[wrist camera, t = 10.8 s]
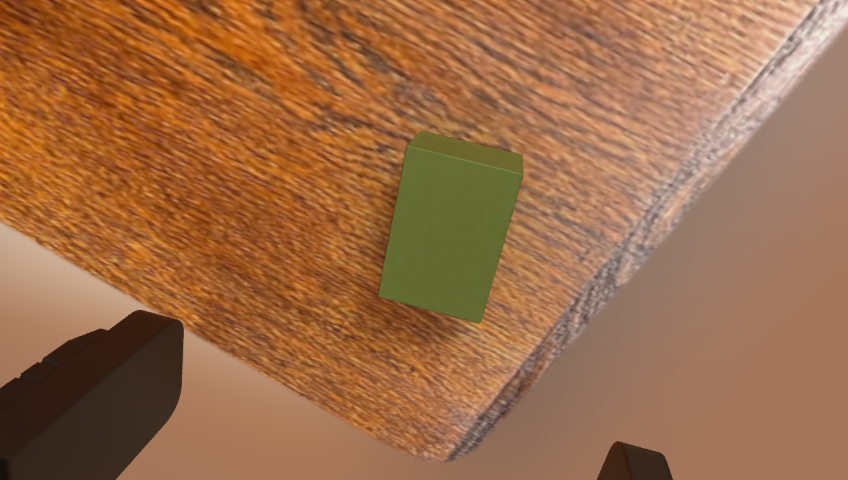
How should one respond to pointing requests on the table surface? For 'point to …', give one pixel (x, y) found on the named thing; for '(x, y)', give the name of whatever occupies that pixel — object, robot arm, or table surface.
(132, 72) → the table surface
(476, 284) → the block
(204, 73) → the table surface
